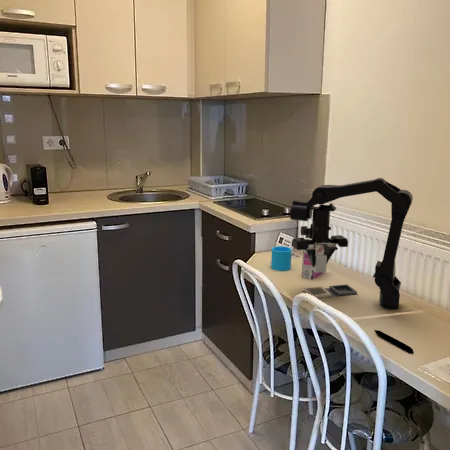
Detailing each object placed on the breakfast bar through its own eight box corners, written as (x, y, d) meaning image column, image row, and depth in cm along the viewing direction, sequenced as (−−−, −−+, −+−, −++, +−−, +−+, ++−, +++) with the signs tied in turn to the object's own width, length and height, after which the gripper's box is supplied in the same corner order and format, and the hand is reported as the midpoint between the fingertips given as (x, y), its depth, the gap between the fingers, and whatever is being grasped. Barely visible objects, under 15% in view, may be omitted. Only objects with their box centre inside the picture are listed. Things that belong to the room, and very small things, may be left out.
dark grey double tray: (358, 297, 164) (358, 291, 163) (310, 301, 160) (311, 296, 159) (347, 288, 171) (347, 283, 171) (301, 293, 167) (302, 287, 167)
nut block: (326, 271, 161) (327, 255, 159) (315, 272, 160) (316, 256, 158) (321, 268, 165) (322, 251, 163) (310, 269, 164) (311, 252, 162)
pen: (375, 333, 138) (376, 328, 138) (414, 354, 126) (415, 348, 126) (371, 334, 137) (372, 329, 137) (410, 355, 125) (411, 350, 125)
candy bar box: (312, 282, 178) (315, 241, 174) (301, 279, 181) (303, 238, 177) (324, 274, 187) (327, 234, 183) (313, 271, 190) (315, 232, 186)
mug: (294, 269, 192) (295, 250, 190) (276, 272, 189) (277, 252, 187) (280, 261, 203) (281, 243, 201) (263, 263, 200) (264, 245, 198)
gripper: (335, 216, 168) (332, 257, 171) (286, 218, 164) (285, 261, 167) (350, 223, 157) (347, 267, 161) (298, 226, 153) (296, 271, 157)
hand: (318, 266), depth 162 cm, fingers closed on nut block, 4 cm apart
